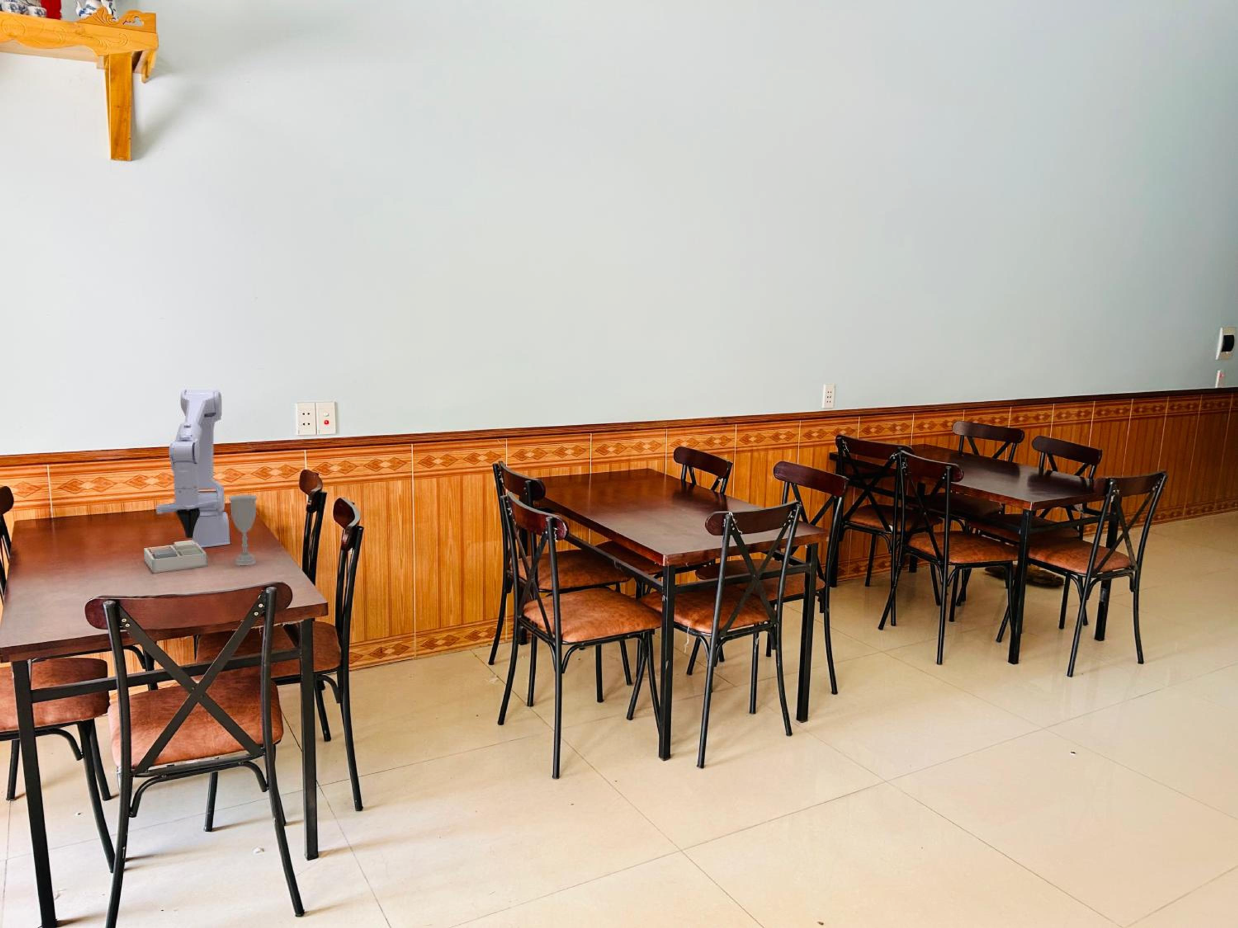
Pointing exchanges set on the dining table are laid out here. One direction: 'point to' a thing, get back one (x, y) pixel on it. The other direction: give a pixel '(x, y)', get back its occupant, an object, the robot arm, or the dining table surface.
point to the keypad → (175, 560)
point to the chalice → (243, 522)
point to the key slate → (164, 553)
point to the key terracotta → (158, 548)
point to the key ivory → (184, 545)
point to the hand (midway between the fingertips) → (189, 537)
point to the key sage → (189, 552)
